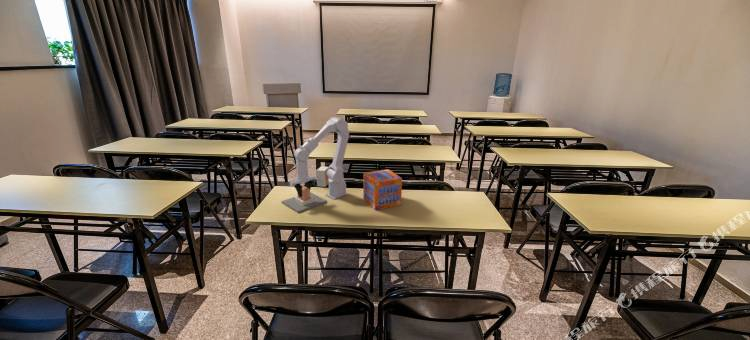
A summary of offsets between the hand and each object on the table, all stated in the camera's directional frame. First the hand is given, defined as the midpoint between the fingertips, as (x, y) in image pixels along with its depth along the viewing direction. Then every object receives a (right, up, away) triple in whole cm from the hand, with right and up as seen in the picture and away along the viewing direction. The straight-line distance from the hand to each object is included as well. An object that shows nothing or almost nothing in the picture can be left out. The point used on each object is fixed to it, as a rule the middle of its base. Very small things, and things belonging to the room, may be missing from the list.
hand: (303, 195), depth 163 cm
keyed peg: (0, -2, +1) cm, 2 cm away
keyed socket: (0, -4, +1) cm, 4 cm away
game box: (+42, -4, +4) cm, 42 cm away
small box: (+6, +4, +26) cm, 27 cm away
